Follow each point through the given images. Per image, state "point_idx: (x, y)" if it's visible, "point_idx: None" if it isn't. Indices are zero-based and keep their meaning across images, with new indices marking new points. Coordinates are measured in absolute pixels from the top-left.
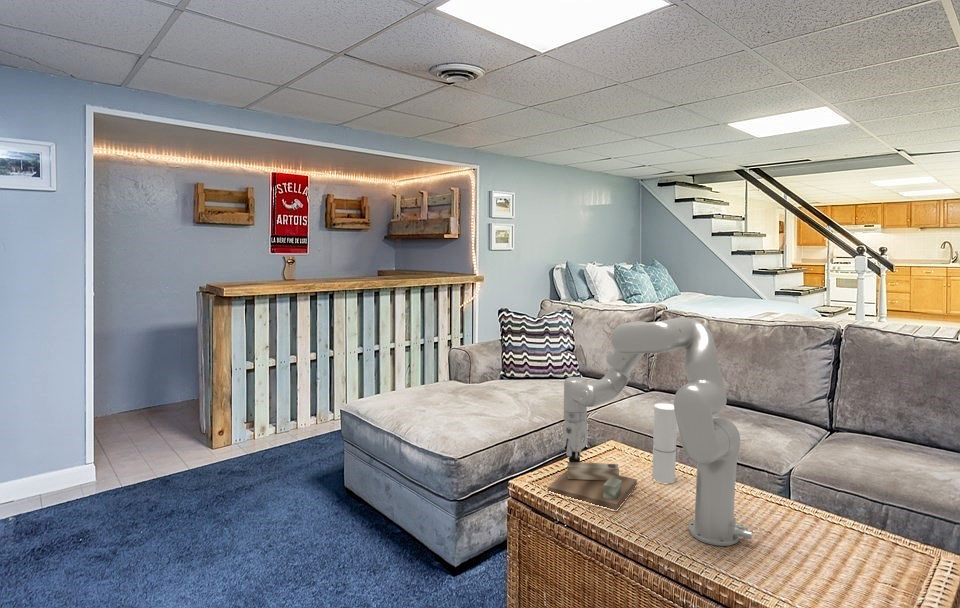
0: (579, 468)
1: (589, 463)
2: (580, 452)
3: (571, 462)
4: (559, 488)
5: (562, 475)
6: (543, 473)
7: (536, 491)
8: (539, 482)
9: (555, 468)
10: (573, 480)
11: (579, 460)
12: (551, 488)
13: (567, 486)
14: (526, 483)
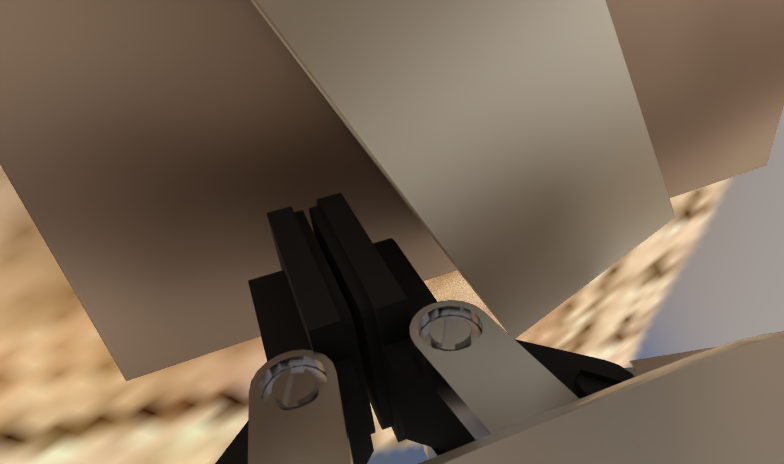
0: (608, 65)
1: (332, 26)
2: (259, 435)
3: (498, 296)
4: (776, 60)
5: None
6: (376, 420)
7: (681, 229)
8: (539, 321)
9: (205, 452)
10: None
11: (315, 285)
12: (769, 127)
13: (712, 24)
14: (595, 354)
